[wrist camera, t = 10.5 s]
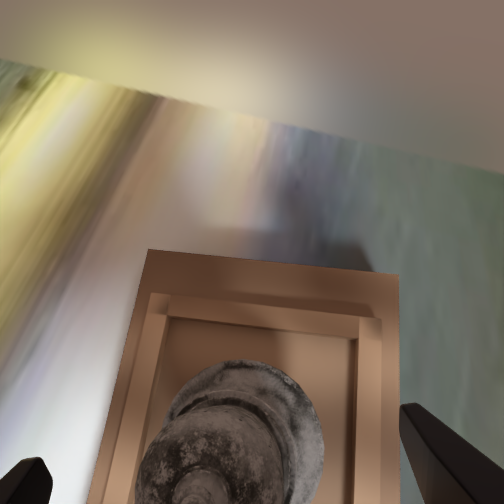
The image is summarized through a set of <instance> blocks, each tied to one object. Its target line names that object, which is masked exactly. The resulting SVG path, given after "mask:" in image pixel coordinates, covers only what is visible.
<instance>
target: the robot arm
mask: <svg viewBox="0 0 504 504" xmlns="http://www.w3.org/2000/svg"><path fill="white" fill-rule="evenodd" d="M399 433H400V437H401V440H402V443H403V446H404V448H405V451H406V454H407V457H408V459H409V462H410V465H411V467H412V470H413V473H414V476H415V478H416V481H417V484H418V486H419V489H420V492H421V494H422V497H423V500H424V502H425V504H504V470H503V469H502V468H501V467H499V466H498V465H497V464H496V463H494V462H493V461H492V460H490V459H489V458H488V457H487V456H485V455H484V454H483V453H481V452H480V451H479V450H478V449H476V448H475V447H474V446H472V445H471V444H470V443H469V442H467V441H466V440H465V439H463V438H462V437H461V436H459V435H458V434H457V433H456V432H454V431H453V430H452V429H450V428H449V427H448V426H447V425H445V424H444V423H443V422H441V421H440V420H439V419H438V418H436V417H435V416H434V415H432V414H431V413H430V412H429V411H427V410H426V409H425V408H423V407H422V406H421V405H419V404H418V403H408V404H402V405H401V406H400V408H399ZM52 487H53V480H52V476H51V474H50V472H49V471H48V469H47V467H46V465H45V463H44V461H43V459H42V458H40V457H33V458H26V459H23V460H21V461H20V462H19V463H18V464H16V465H15V466H14V467H13V468H12V469H11V470H10V471H9V472H8V473H7V474H6V475H5V476H4V477H3V478H2V479H0V504H49V500H50V496H51V492H52Z"/></svg>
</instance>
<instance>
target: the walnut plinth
mask: <svg viewBox="0 0 504 504" xmlns="http://www.w3.org/2000/svg"><path fill="white" fill-rule="evenodd" d="M238 359H247V360H254V361H260V362H264V363H266V364H269V365H271V366H273V367H275V368H277V369H280V370H282V371H283V372H284V373H286V374H287V375H288V376H289V377H290V378H292V379H293V380H294V381H295V382H297V383H298V384H299V385H300V387H301V388H302V390H303V391H304V392H305V394H306V395H307V396H308V398H309V399H310V400H311V402H312V404H313V406H314V409H315V411H316V414H317V416H318V418H319V421H320V423H321V428H322V435H323V441H324V447H325V449H324V462H323V473H322V476H321V479H320V482H319V485H318V488H317V491H316V494H315V497H314V499H313V500H312V502H311V503H310V504H400V433H399V408H400V399H399V275H397V274H387V273H377V272H367V271H358V270H348V269H338V268H328V267H319V266H309V265H299V264H289V263H280V262H270V261H260V260H250V259H241V258H231V257H221V256H211V255H202V254H192V253H182V252H172V251H163V250H153V249H148V252H147V257H146V261H145V265H144V269H143V273H142V277H141V281H140V285H139V289H138V294H137V298H136V302H135V306H134V310H133V314H132V318H131V322H130V327H129V331H128V335H127V339H126V343H125V347H124V351H123V355H122V359H121V364H120V368H119V372H118V376H117V380H116V384H115V388H114V392H113V396H112V401H111V405H110V409H109V413H108V417H107V421H106V425H105V429H104V434H103V438H102V442H101V446H100V450H99V454H98V458H97V462H96V466H95V471H94V475H93V479H92V483H91V487H90V491H89V495H88V499H87V504H135V484H136V479H137V475H138V470H139V466H140V464H141V462H142V460H143V458H144V455H145V453H146V451H147V449H148V447H149V445H150V443H151V442H152V441H153V440H154V438H155V437H156V436H157V435H158V433H159V432H160V431H161V429H162V425H163V420H164V418H165V415H166V413H167V411H168V409H169V407H170V405H171V403H172V401H173V399H174V397H175V396H176V395H177V394H178V392H179V391H180V390H181V389H182V387H183V386H184V385H185V384H186V383H187V381H189V380H190V379H191V378H193V377H194V376H195V375H197V374H198V373H199V372H201V371H202V370H203V369H205V368H208V367H210V366H213V365H215V364H217V363H220V362H222V361H229V360H238Z"/></svg>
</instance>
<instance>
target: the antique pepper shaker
mask: <svg viewBox="0 0 504 504" xmlns="http://www.w3.org/2000/svg"><path fill="white" fill-rule="evenodd" d="M324 449H325V447H324V441H323V435H322V428H321V423H320V421H319V418H318V416H317V414H316V411H315V409H314V406H313V404H312V402H311V400H310V399H309V398H308V396H307V395H306V394H305V392H304V391H303V390H302V388H301V387H300V385H299V384H298V383H297V382H295V381H294V380H293V379H292V378H290V377H289V376H288V375H287V374H286V373H284V372H283V371H282V370H280V369H277V368H275V367H273V366H271V365H269V364H266V363H264V362H260V361H254V360H247V359H238V360H229V361H222V362H220V363H217V364H215V365H213V366H210V367H208V368H205V369H203V370H202V371H201V372H199V373H198V374H197V375H195V376H194V377H193V378H191V379H190V380H189V381H187V383H186V384H185V385H184V386H183V387H182V389H181V390H180V391H179V392H178V394H177V395H176V396H175V397H174V399H173V401H172V403H171V405H170V407H169V409H168V411H167V413H166V415H165V418H164V420H163V425H162V429H161V431H160V432H159V433H158V435H157V436H156V437H155V438H154V440H153V441H152V442H151V443H150V445H149V447H148V449H147V451H146V453H145V455H144V458H143V460H142V462H141V464H140V466H139V470H138V475H137V479H136V484H135V504H310V503H311V502H312V500H313V499H314V497H315V494H316V491H317V488H318V485H319V482H320V479H321V476H322V473H323V462H324Z"/></svg>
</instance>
